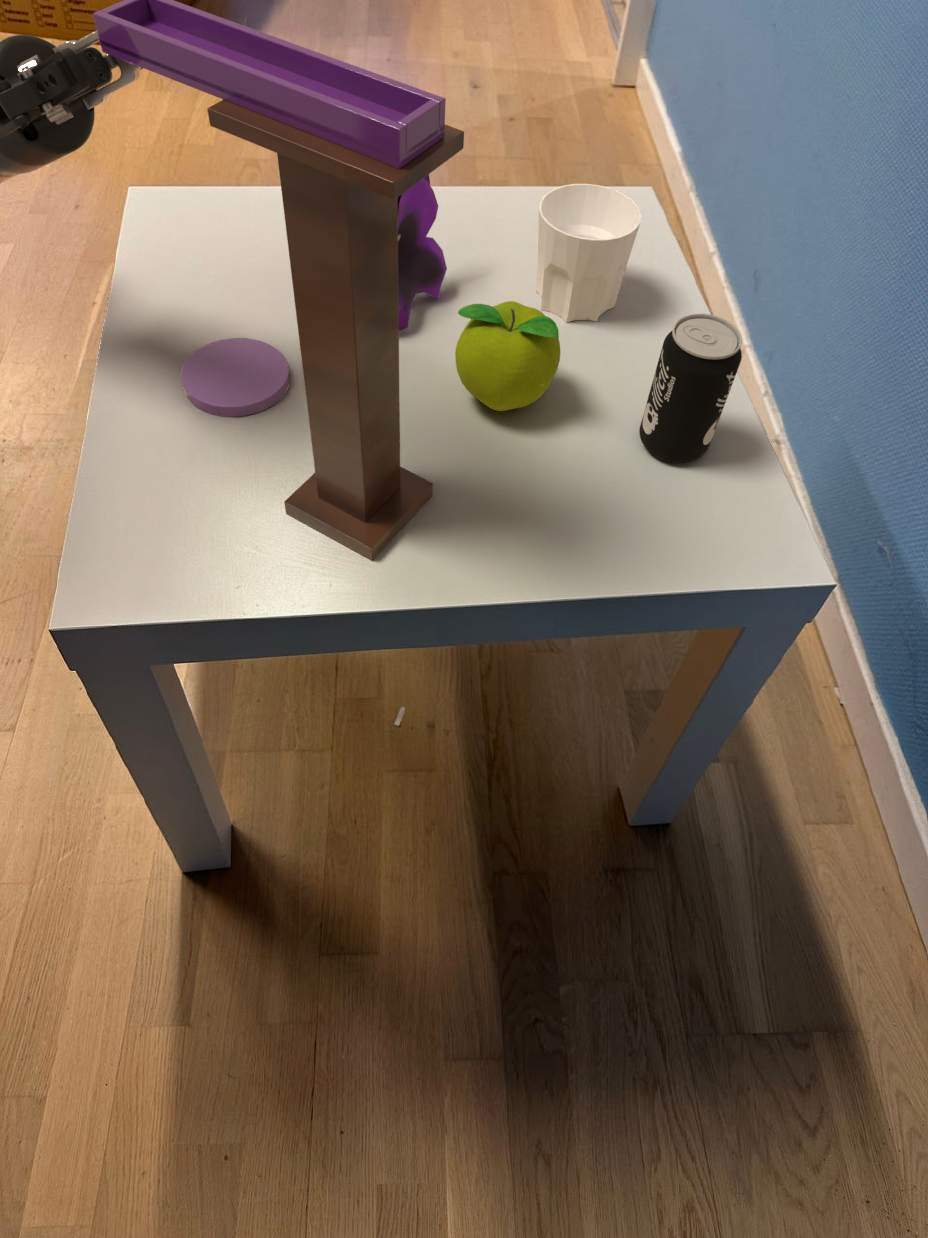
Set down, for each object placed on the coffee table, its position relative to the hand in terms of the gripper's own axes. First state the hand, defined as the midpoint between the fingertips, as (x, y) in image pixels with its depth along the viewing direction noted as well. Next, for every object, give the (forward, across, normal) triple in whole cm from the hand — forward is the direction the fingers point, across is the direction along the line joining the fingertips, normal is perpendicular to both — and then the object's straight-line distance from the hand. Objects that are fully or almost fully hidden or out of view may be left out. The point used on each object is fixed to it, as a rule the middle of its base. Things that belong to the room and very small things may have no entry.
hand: (129, 42), depth 55 cm
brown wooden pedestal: (-2, 0, +36) cm, 36 cm away
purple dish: (+10, 0, +5) cm, 11 cm away
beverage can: (+14, +23, +45) cm, 53 cm away
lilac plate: (-19, +6, +26) cm, 33 cm away
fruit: (0, +19, +37) cm, 42 cm away
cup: (-1, +37, +36) cm, 52 cm away
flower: (-17, +25, +27) cm, 41 cm away
